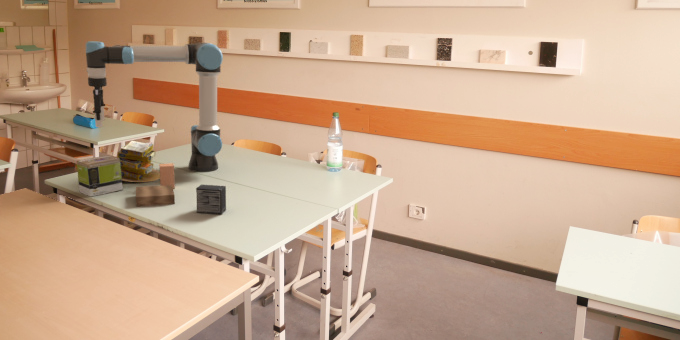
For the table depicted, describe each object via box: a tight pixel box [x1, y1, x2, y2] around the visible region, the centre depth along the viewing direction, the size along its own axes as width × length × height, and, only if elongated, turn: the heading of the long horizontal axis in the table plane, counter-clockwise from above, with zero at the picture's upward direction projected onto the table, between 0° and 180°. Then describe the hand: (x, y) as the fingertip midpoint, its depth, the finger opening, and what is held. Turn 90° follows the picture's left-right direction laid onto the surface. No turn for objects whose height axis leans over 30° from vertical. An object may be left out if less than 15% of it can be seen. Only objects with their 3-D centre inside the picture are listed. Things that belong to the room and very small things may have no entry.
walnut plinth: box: [135, 185, 176, 207], centre depth 230 cm, size 15×15×4 cm
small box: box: [195, 184, 227, 215], centre depth 218 cm, size 11×6×10 cm, turn 84°
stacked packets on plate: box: [117, 140, 160, 183], centre depth 261 cm, size 25×25×17 cm
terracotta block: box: [159, 162, 176, 190], centre depth 246 cm, size 6×5×11 cm
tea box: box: [76, 154, 123, 197], centre depth 236 cm, size 15×10×15 cm, turn 141°
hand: (100, 123), depth 247 cm, fingers open, 13 cm apart
